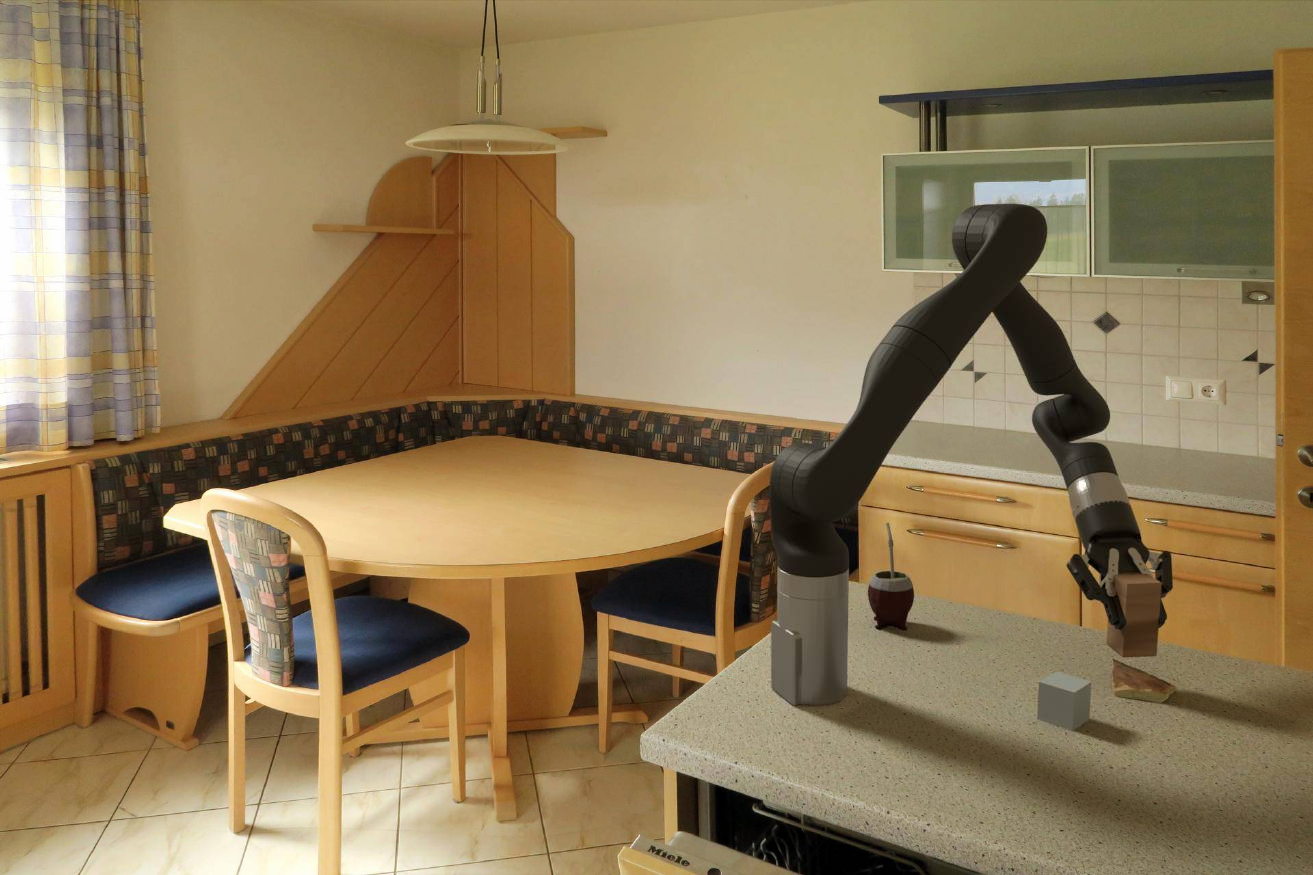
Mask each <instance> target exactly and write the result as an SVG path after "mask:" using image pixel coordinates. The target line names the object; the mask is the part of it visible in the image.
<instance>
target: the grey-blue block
mask: <svg viewBox="0 0 1313 875" xmlns="http://www.w3.org/2000/svg"><path fill="white" fill-rule="evenodd" d="M1091 696H1092V681H1091V680H1086V679H1083V678H1080V677H1077V676H1073V675H1070V674H1067V673H1063V672H1060V671H1054V672H1053V673H1052V674H1050V675H1048V676H1047V677H1044V678H1043V679H1041V680H1039V682H1038V695H1037V698H1038V699H1037V700H1038V701H1037V717H1036V720H1039V721H1042V722H1044V723H1047V724H1051V725H1053V726H1056V727H1060V728H1062V729H1065V730H1068V731H1074V730H1076V729H1077V728H1079V727H1080V726H1082V725H1083V724H1085V723H1086V722H1087V721H1089V720H1090V714H1091V713H1090V711H1091V699H1092V698H1091Z"/></svg>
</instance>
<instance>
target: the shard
mask: <svg viewBox="0 0 1313 875" xmlns="http://www.w3.org/2000/svg"><path fill="white" fill-rule="evenodd" d="M1111 663H1112V671H1111V685H1112V689H1113V694H1114V697H1120V698H1126V699H1127V698H1128V699H1135V700H1143V701H1147V702H1148V701H1149V702H1153V701H1154V702H1153V703H1159V704H1160V703H1164V702H1165V701H1167V699H1169V697H1170V695H1171V693H1172V694H1173V693H1175V691H1176V688H1177V687H1176V685H1174V684H1171V683H1170V682H1168V681H1166V680H1164V679H1161V678H1158V677H1157V676H1155V675H1153V674H1150V673H1148V672H1146V671H1143V670H1141V669H1139V668H1137V667H1134V666H1131V665H1128V664H1126V663H1123V662H1121V661H1119V660H1116V659H1115V658H1112V661H1111Z"/></svg>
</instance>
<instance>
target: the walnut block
mask: <svg viewBox="0 0 1313 875" xmlns="http://www.w3.org/2000/svg"><path fill="white" fill-rule="evenodd" d="M1113 576H1114V585H1115V588H1116V595H1115V597H1118V598H1119V601H1120V604H1121V607H1122V610H1123V613H1124V616H1125V618H1126V625H1125V626H1124V627H1123V628H1122V629H1115V627H1114V625H1111V624H1110V623H1109V620H1108V619H1107V627H1106V628H1107V629H1106V643H1105V644H1106V646H1108V647H1109V648H1110V649H1111V650H1113V652H1115V653H1116V654H1118V655H1119V657H1122V658H1142V657H1144V658H1145V657H1146V658H1147V657H1157V655H1158V642H1159V640H1158V639H1159V629H1160V628H1159V625H1158V622H1159V614H1160V600H1162V598H1161V585H1162V583H1161V582H1160V581H1158V580H1156V579H1155V577H1154V576H1153V577H1151V576H1150V575H1148V574H1142V573H1139V572H1129V573H1118V575H1113Z"/></svg>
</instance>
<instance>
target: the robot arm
mask: <svg viewBox="0 0 1313 875" xmlns="http://www.w3.org/2000/svg"><path fill="white" fill-rule="evenodd" d="M1047 238H1048V224H1047V220H1046V217H1045V216H1044V214H1043V213H1042V212H1041V211H1040V210H1039V209H1038V208H1037V207H1034V206H1033V205H1027V204H1022V203H986V204H985V203H984V204H977V205H973V206H971V207H970V206H969V207H967V208H966V209H965V210H963V211H962V212H961V213H960V214H959V215H958V217H957V218H956V220H955V221H954V225H953V226H952V232H951V244H952V249H953V252H954V255H955V257H956V259H957V261H958V262H959V264H960V266H961V268H962V269H963V271H962V272H961V273H959V275H958V276H956V278H954V279H953V280H952V281H951V282H949V283H948V284H946V285H945V286H944V287H942V288H941V289H939V290H937V291H936V292H934V293H933V294H931V295H930V296H928V297H927V298H925V299H923V300H921V301H920V302H918V304H916V305H914V306H913V307H912V308H910V309H909V310H908V311H906V312H905V313H904V314H903V315H901V317H900V318H898V319H897V321H896V322H894V324H893V325H892V326H891V328H890V329H889V330H888V332H887V333H886V334H885V336H884V337H883V338H882V340H881V341H880V342H879V343H878V345H877V346H876V347H875V349H874V350H873V351H872V354H871V355H870V357H869V359H868V362H867V363H866V364H867V365H866V368H865V370H864V371H865V372H864V375H863V380H862V385H861V390H860V396H859V401H858V403H857V407H856V409H855V410H854V413H853V415H852V416H851V417H850V419H849V420H848V421H847V422H846V424H845V426H844V427H843V429H842V430H841V431H840V432H839V433H838V435H837V436H836V438H834V440H833V441H832V442H831V443H830V444H829V445H828V446H823V445H819V444H815V443H811V442H795V443H791V444H790V445H787V446H786V447H785V448H783V449H782V450H781V451H780V452H779V454H778V455H777V457H776V458H775V459H774V461H773V464H772V467H771V471H770V474H769V475H770V476H769V487H768V489H769V491H768V492H769V498H768V499H769V518H770V535H771V536H770V537H771V542H772V545H773V548H774V550H775V553H776V557H777V558H776V560H777V588H776V589H777V592H776V593H777V595H776V596H777V605H776V606H777V609H776V610H777V612H776V613H777V616H776V617H777V619H775V620H772V621H771V623H770V624H771V625H770V626H771V627H770V638H771V639H770V641H771V642H770V652H771V653H770V661H771V663H770V670H771V671H770V674H771V675H770V678H771V679H770V688H771V689H772V690H773V691H774V692H776V693H777V694H778V695H779V696H781V697H782V698H783V699H785V700H786V701H787V702H789V704H791V705H794V706H796V705H797V706H798V705H812V706H816V705H818V706H819V705H820V706H823V705H829V704H834V703H837V702H839V701H841V700H843V699H844V698H845V697H846V696H847V694H848V656H849V655H848V653H849V652H848V651H849V650H848V649H849V648H848V647H849V593H850V592H849V588H850V587H849V586H850V583H849V582H850V578H849V576H850V554H849V553H850V552H849V548H848V546H847V544H846V543H845V542H844V540H843V539H842V538H841V536H839V534H838V532H837V531H836V529H835V526H834V524H833V523H835V522H838V521H840V520H842V519H844V518H845V517H846V516H847V515H849V514H850V513H851V512H852V511H853V510H854V509H855V508H856V507H857V505H858V503H859V502H860V501H861V500H862V498H863V496H864V494H865V493H866V491H867V490H868V488H869V487H870V485H871V483H872V481H873V480H874V478H875V476H876V475H877V472H878V471H879V470H880V467H882V465H883V463H884V461H885V459H886V458H887V456H888V454H889V453H890V451H891V450H892V448H893V446H894V444H896V442H897V440H898V439H899V438H900V436H901V435H902V433H903V432H904V430H905V429H906V428H907V427H908V425H909V423H911V420H913V418H914V416H915V415H916V414H917V412H918V410H919V409H920V408H921V406H923V404H924V402H925V401H926V400H927V399H928V397H929V396H930V395H931V394H932V392H933V391H934V390H935V389H936V387H937V386H938V385H939V384H940V383H941V381H942V379H943V378H944V377H945V375H946V374H947V373H948V371H949V370H950V368H951V367H952V366H953V364H954V363H955V361H956V360H957V358H958V356H959V355H960V354H961V353H962V351H963V350H964V349H965V347H966V346H967V345H968V343H969V342H970V341H971V340H972V338H973V337H974V336H975V334H977V332H978V330H979V329H980V328H981V327H982V325H983V324H984V323H985V322H986V320H987V319H988V318H989V317H990V315H992V314H993V316H994V317H995V319H996V320H997V322H998V323H999V325H1000V326H1001V328H1002V330H1003V332H1004V333H1005V335H1006V337H1007V338H1008V342H1010V345H1011V347H1012V349H1013V352H1014V353H1015V355H1016V358H1017V360H1018V362H1019V365H1020V366H1021V370H1022V372H1023V374H1024V376H1025V378H1026V381H1027V383H1028V385H1029V388H1030V389H1031V390H1032V391H1033V392H1034V393H1035V394H1038V395H1040V396H1046V397H1047V396H1055V397H1053V398H1050V399H1046V400H1043V401H1041V402H1039V403H1038V404H1037V405H1036V406H1035V407H1034V409H1033V411H1032V415H1031V423H1032V426H1033V429H1034V431H1035V432H1036V434H1037V436H1038V437H1039V439H1041V441H1042V442H1043V443H1044V445H1045V446H1046V447H1047V449H1048V450H1049V452H1050V453H1051V454H1052V456H1053V457H1054V459H1055V461H1056V463H1057V465H1058V467H1059V469H1060V472H1061V475H1062V477H1063V481H1064V484H1065V487H1066V490H1067V495H1068V499H1069V506H1070V508H1071V514H1072V517H1073V518H1074V521H1075V525H1076V528H1077V531H1078V535H1079V538H1080V541H1081V544H1082V548H1084V553H1083V554H1079V553H1074V554H1073V555H1072V556H1071V557H1070V559H1069V560H1068V561H1067V563H1066V568H1067V570H1068V571H1069V573H1070V575H1071V576H1072V578H1073V580H1074V581H1075V582H1076V584H1077V585H1078V587H1079V589H1080V590H1081V591H1082V593H1083V595H1084V596H1085V598H1086V599H1087V600H1089V601H1094V600H1095V601H1098V602H1100V603H1102V605H1103V608H1104V612H1105V614H1106V616H1107V621H1108V620H1109V623H1110V624H1111V625H1114V627H1115V629H1122V628H1123V627H1124V626H1125V625H1126V618H1125V616H1124V613H1123V610H1122V607H1121V604H1120V601H1119V598H1118V597H1115V595H1116V588H1115V585H1114V576H1113V575H1118V573H1129V572H1139V573H1142V574H1148V575H1150V576H1151V577H1153V578H1155V579H1156V580H1158V581H1160V582H1161V583H1162V585H1161V600H1160V614H1159V622H1158V625H1159V629H1161V628H1162V627H1163V626H1164V625H1165V623H1166V621H1167V620H1168V613H1167V611H1166V609H1165V605H1164V603H1163V600H1162V599H1164V598H1166V596H1167V595H1168V594H1169V593H1170V592H1171V591H1172V590H1173V588H1174V582H1173V581H1174V580H1173V579H1174V578H1173V562H1172V553H1171V552H1169V551H1168V550H1163V551H1162V552H1161V553H1158V552H1153V551H1150V549H1149V548H1148V546H1146V545H1145V544H1144V543H1143V540H1142V535H1141V534H1142V533H1141V529H1140V527H1139V524H1138V522H1137V519H1136V517H1135V516H1136V515H1135V513H1134V511H1133V508H1132V504H1131V502H1130V498H1129V497H1128V493H1127V491H1126V489H1125V487H1124V485H1123V483H1122V482H1121V480H1120V477H1119V474H1118V471H1117V468H1116V466H1115V462H1114V460H1113V458H1112V455H1111V452H1110V450H1109V448H1108V447H1107V446H1106V445H1105V444H1103V443H1101V442H1097V441H1084V442H1083V441H1082V442H1074V441H1078V440H1081V439H1083V438H1084V439H1085V438H1087V437H1090V436H1093V435H1097V434H1100V433H1102V432H1103V431H1105V430H1106V429H1107V427H1108V425H1109V424H1110V420H1111V412H1110V408H1109V405H1108V403H1107V402H1106V400H1105V399H1104V397H1103V396H1102V395H1101V394H1100V392H1099V391H1098V390H1097V389H1096V388H1095V386H1093V384H1091V383H1090V381H1089V380H1088V379H1087V377H1085V375H1084V374H1083V372H1082V371H1081V369H1080V368H1079V366H1078V364H1077V361H1076V359H1075V357H1074V355H1073V353H1072V352H1073V351H1072V350H1071V347H1070V345H1069V342H1068V340H1067V338H1066V336H1065V334H1064V332H1063V330H1062V328H1061V327H1060V325H1059V324H1058V323H1057V321H1056V320H1055V319H1054V317H1053V316H1051V314H1049V312H1048V311H1047V310H1046V309H1045V308H1044V307H1043V306H1042V305H1041V304H1040V302H1038V301H1037V300H1036V299H1035V298H1034V297H1033V295H1032V294H1031V293H1030V292H1029V291H1028V290H1027V288H1026V287H1025V286H1024V284H1022V282H1021V281H1022V280H1023V279H1024V278H1025V277H1026V275H1028V273H1029V272H1030V271H1031V270H1032V269H1033V268H1034V266H1035V265H1036V263H1037V262H1038V261H1039V259H1040V257H1041V255H1042V254H1043V251H1044V249H1045V246H1046V242H1047ZM1147 562H1149V563H1150V565H1151V570H1154V572H1155V574H1154V575H1153V573H1152V572H1151V571H1150V569H1149V567H1148V566H1147V565H1146V564H1147ZM1090 567H1091V568H1093V569H1094V570H1095V571H1096V572H1097V573H1098V574H1099V575H1098V576H1099V577H1098V578H1099V580H1097V579H1096V578H1095V576H1094V575H1093V573H1092V571H1091V570H1090Z"/></svg>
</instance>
